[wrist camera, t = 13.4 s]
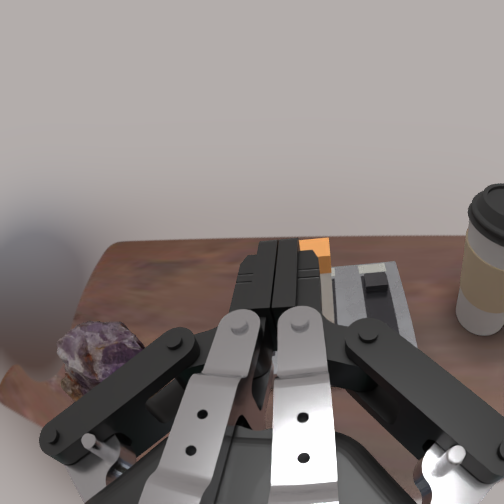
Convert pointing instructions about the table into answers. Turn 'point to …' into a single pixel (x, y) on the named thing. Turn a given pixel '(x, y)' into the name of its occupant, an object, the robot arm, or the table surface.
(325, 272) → the orange-capped grey post
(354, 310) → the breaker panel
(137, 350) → the rock
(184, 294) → the table surface
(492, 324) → the coffee cup
